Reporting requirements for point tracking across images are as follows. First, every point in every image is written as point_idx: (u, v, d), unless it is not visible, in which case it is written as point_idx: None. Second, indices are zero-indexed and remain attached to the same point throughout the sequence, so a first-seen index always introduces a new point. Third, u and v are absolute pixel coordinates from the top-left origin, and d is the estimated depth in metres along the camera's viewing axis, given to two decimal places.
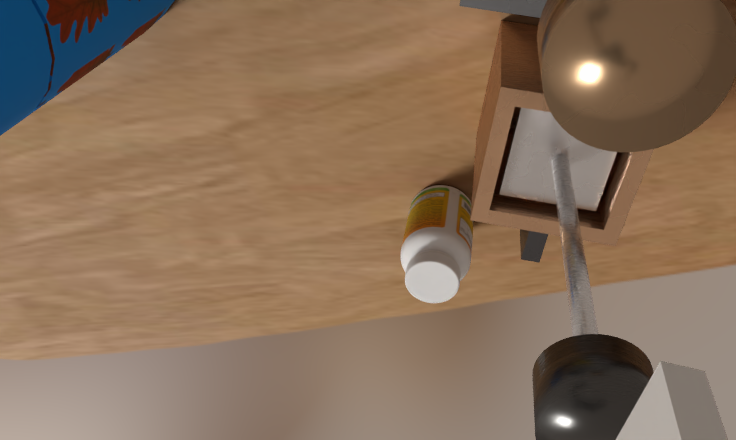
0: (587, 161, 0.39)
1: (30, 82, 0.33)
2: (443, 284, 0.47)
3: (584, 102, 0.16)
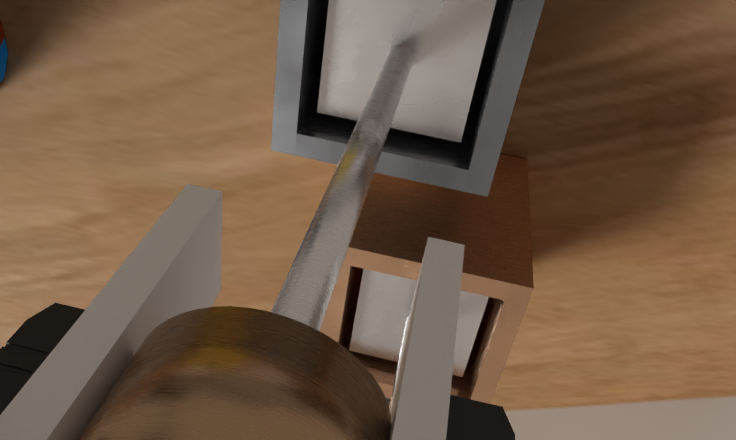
0: None
1: None
2: None
3: None
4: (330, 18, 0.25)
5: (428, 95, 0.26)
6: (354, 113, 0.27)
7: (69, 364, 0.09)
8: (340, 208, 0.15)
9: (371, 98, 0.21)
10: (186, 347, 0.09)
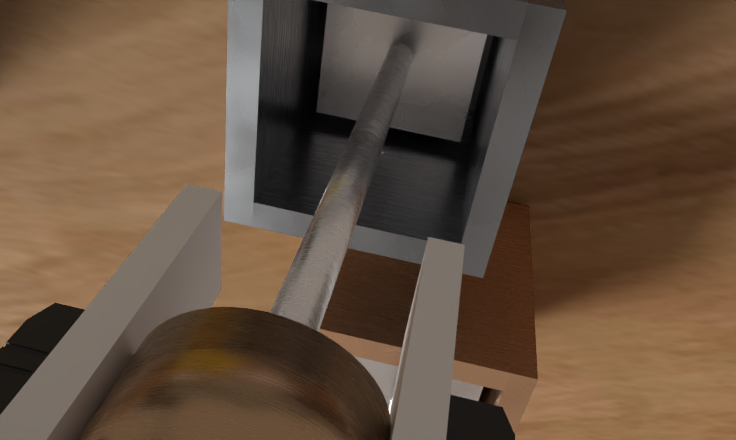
0: None
1: None
2: None
3: None
4: (329, 18, 0.25)
5: (427, 95, 0.26)
6: (354, 112, 0.27)
7: (69, 364, 0.09)
8: (339, 208, 0.15)
9: (370, 98, 0.21)
10: (185, 347, 0.09)
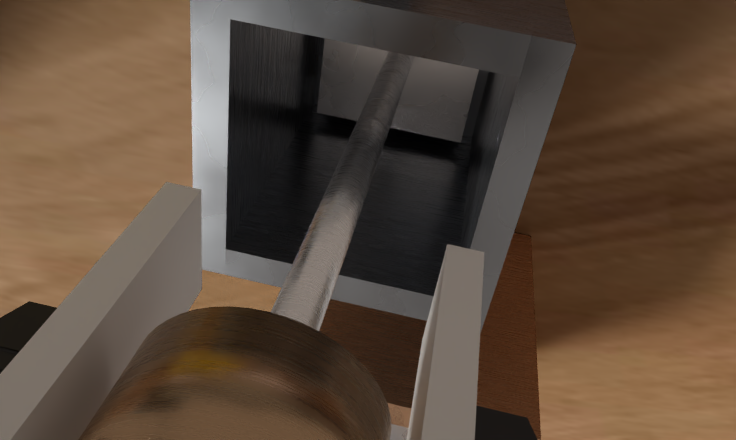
0: None
1: None
2: None
3: None
4: None
5: (428, 95, 0.26)
6: (354, 113, 0.27)
7: (38, 363, 0.09)
8: (340, 208, 0.15)
9: (371, 98, 0.21)
10: (185, 347, 0.09)
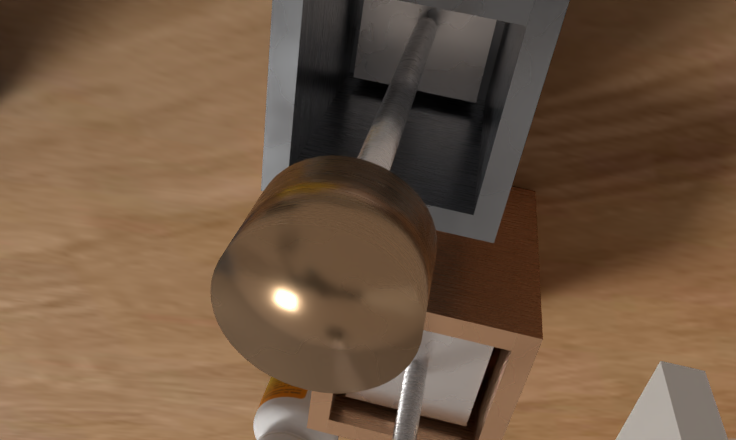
0: (451, 372, 0.30)
1: None
2: None
3: (265, 340, 0.14)
4: None
5: (448, 61, 0.30)
6: (386, 77, 0.31)
7: None
8: (389, 124, 0.20)
9: (405, 55, 0.25)
10: (306, 174, 0.14)
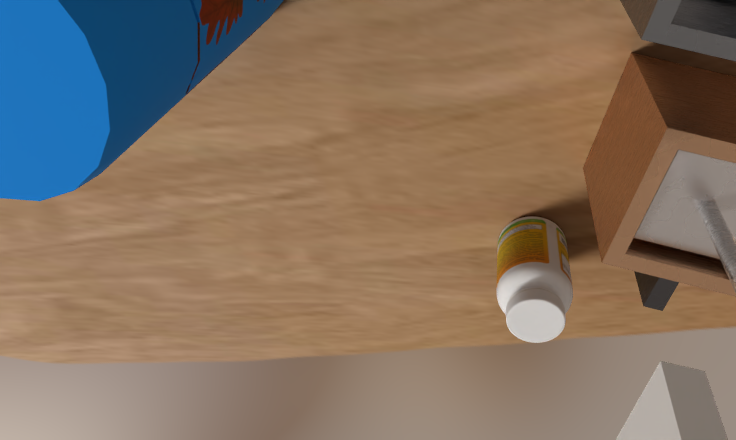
0: None
1: (178, 86, 0.29)
2: (548, 324, 0.45)
3: None
4: None
5: None
6: None
7: None
8: None
9: None
10: None
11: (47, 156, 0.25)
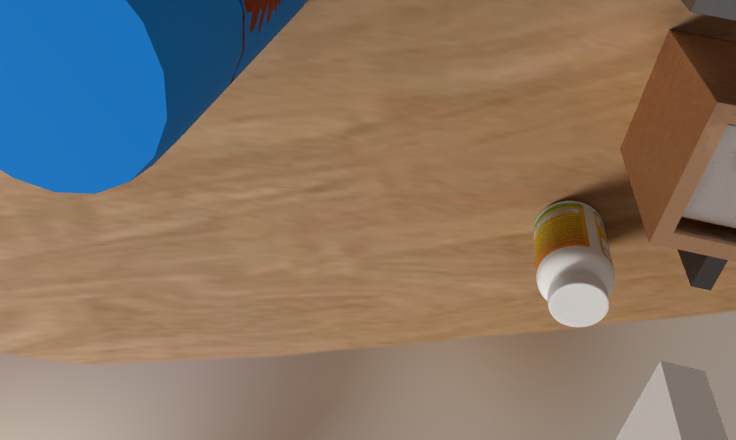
0: None
1: (225, 75, 0.29)
2: (591, 308, 0.44)
3: None
4: None
5: None
6: None
7: None
8: None
9: None
10: None
11: (103, 148, 0.25)
